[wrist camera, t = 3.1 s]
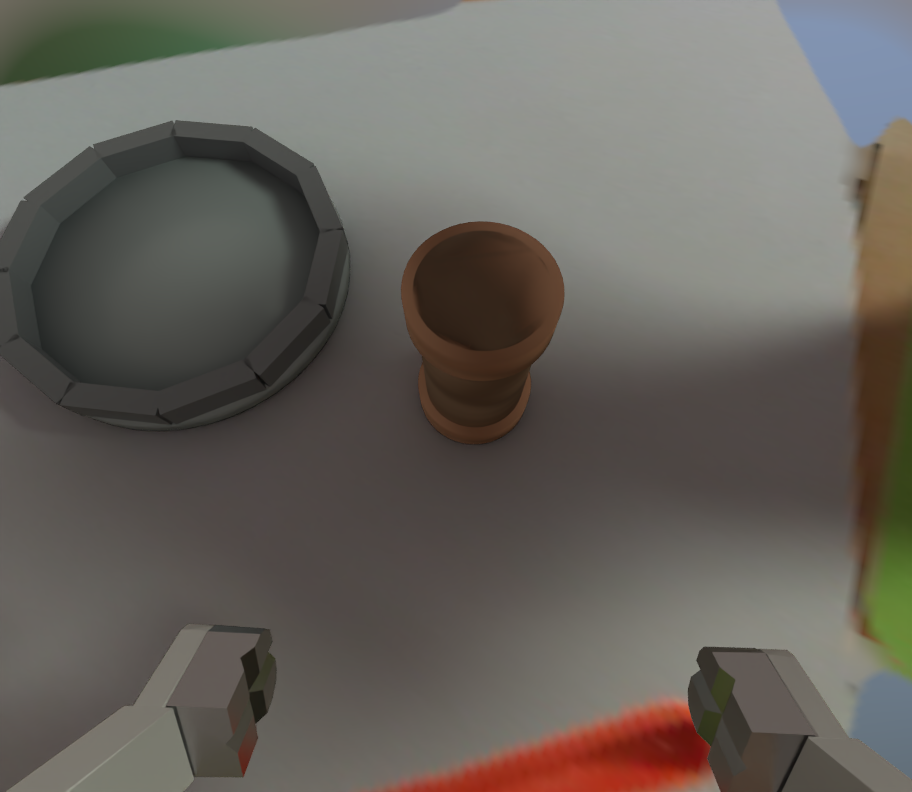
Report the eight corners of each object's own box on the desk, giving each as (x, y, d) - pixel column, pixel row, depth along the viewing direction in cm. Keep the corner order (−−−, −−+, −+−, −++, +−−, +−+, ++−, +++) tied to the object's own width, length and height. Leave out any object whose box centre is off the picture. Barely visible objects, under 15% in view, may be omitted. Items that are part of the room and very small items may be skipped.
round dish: (295, 119, 34) (283, 84, 31) (397, 351, 28) (392, 330, 25) (4, 210, 31) (-33, 179, 29) (47, 487, 25) (6, 477, 23)
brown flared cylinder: (498, 330, 28) (520, 201, 19) (545, 418, 26) (594, 325, 17) (404, 367, 27) (377, 252, 18) (445, 461, 26) (439, 387, 16)
